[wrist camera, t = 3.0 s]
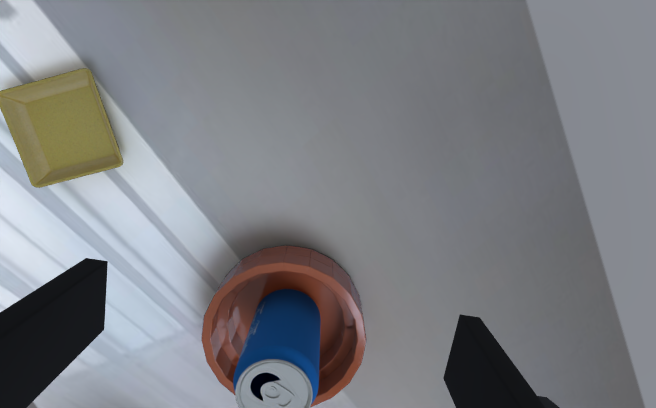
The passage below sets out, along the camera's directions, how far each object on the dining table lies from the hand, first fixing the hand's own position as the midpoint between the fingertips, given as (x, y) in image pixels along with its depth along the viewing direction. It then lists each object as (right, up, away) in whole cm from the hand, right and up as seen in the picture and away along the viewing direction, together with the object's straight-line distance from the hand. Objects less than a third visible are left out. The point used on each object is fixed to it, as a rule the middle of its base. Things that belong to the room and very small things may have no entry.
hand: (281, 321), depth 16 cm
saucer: (-21, +11, +23) cm, 33 cm away
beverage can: (-2, -7, +27) cm, 28 cm away
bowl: (-2, -7, +27) cm, 28 cm away
